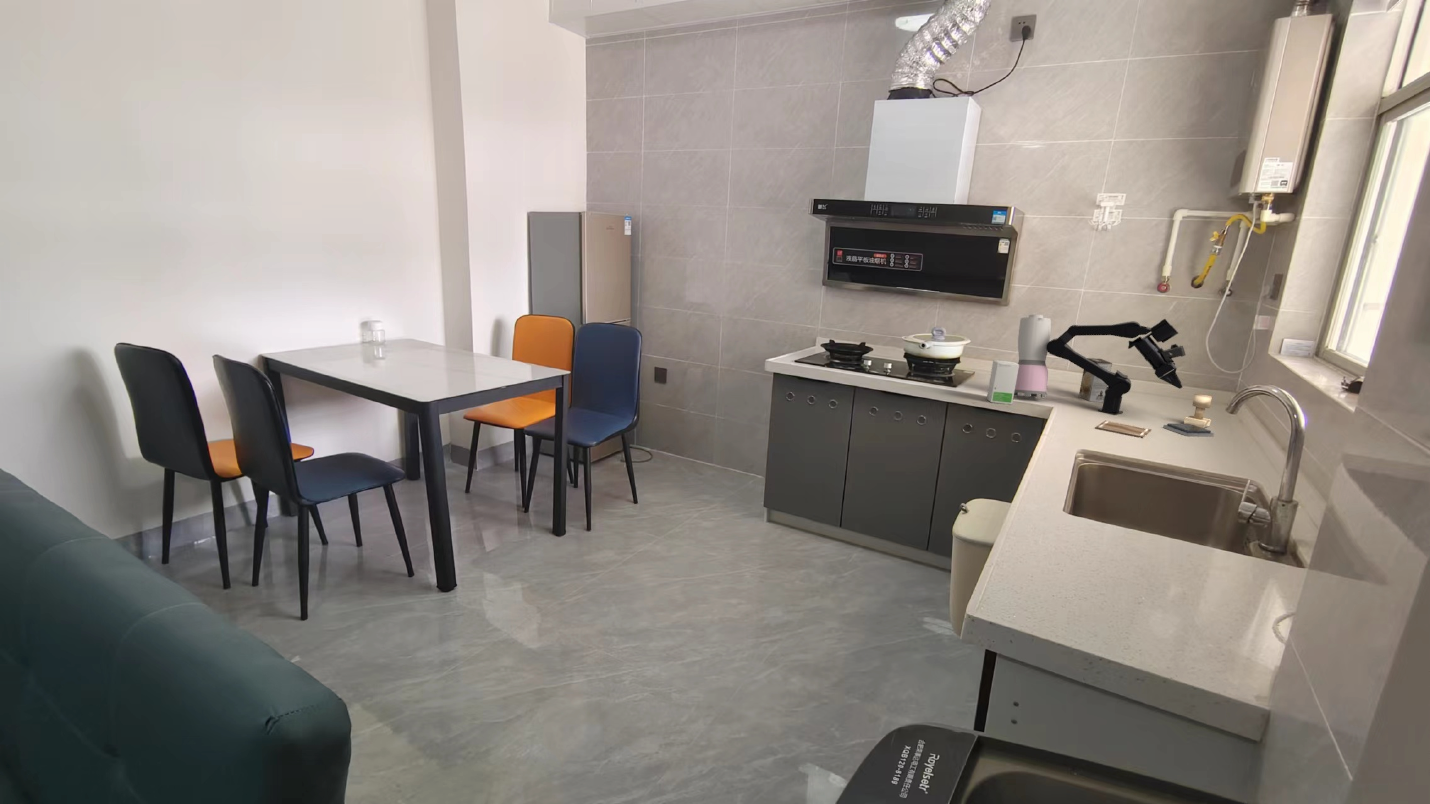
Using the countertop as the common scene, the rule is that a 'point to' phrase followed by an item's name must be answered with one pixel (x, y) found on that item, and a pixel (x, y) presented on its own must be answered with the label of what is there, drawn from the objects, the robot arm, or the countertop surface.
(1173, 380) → the robot arm
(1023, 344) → the blender
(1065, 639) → the countertop surface
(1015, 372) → the skincare box
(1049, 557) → the countertop surface
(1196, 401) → the rubber stamp
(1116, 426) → the stamp board
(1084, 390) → the coffee box
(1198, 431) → the ink pad
